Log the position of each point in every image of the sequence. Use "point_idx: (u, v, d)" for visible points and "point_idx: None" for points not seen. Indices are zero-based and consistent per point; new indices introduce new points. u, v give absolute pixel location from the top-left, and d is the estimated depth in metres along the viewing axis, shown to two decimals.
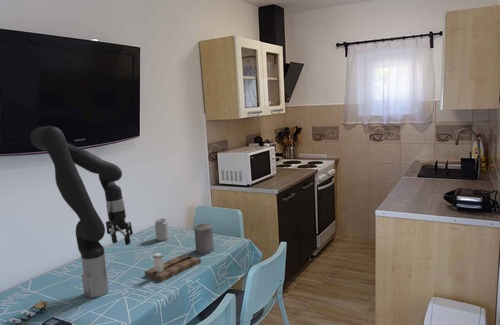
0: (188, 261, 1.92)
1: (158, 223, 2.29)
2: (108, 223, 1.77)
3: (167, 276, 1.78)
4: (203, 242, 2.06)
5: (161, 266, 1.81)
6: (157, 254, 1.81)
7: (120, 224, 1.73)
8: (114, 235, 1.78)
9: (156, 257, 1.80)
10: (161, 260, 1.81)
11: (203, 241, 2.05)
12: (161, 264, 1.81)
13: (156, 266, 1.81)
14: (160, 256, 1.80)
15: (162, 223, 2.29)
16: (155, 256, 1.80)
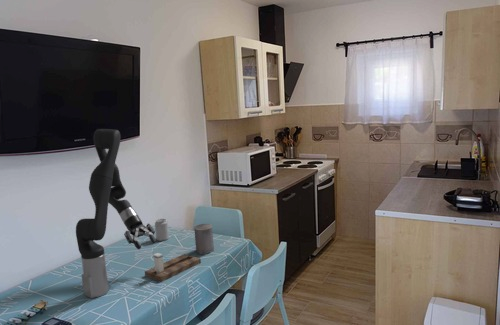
0: (188, 261, 1.92)
1: (158, 223, 2.29)
2: (128, 232, 1.84)
3: (167, 276, 1.78)
4: (203, 242, 2.06)
5: (161, 266, 1.81)
6: (157, 254, 1.81)
7: (143, 226, 1.90)
8: None
9: (156, 257, 1.80)
10: (161, 260, 1.81)
11: (203, 241, 2.05)
12: (161, 264, 1.81)
13: (156, 266, 1.81)
14: (160, 256, 1.80)
15: (162, 223, 2.29)
16: (155, 256, 1.80)
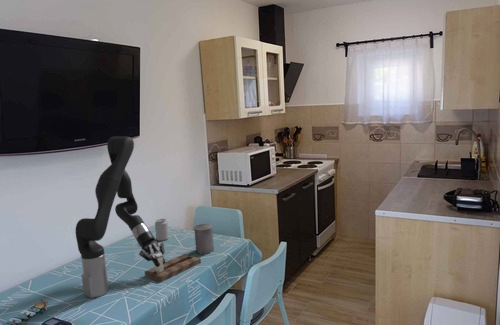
0: (188, 261, 1.92)
1: (158, 223, 2.29)
2: (143, 251, 1.79)
3: (167, 276, 1.78)
4: (203, 242, 2.06)
5: (161, 266, 1.81)
6: (157, 254, 1.81)
7: (156, 244, 1.85)
8: None
9: (156, 257, 1.80)
10: (161, 260, 1.81)
11: (203, 241, 2.05)
12: (161, 264, 1.81)
13: (156, 266, 1.81)
14: (160, 256, 1.80)
15: (162, 223, 2.29)
16: (155, 256, 1.80)
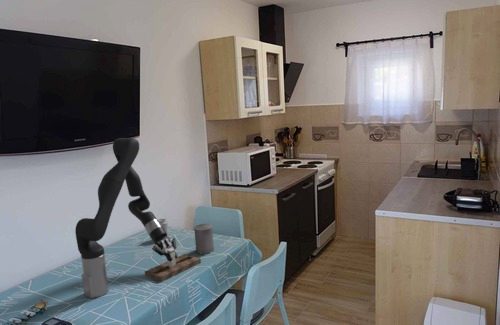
0: (188, 261, 1.92)
1: None
2: (156, 246, 1.85)
3: (167, 276, 1.78)
4: (203, 242, 2.06)
5: (173, 261, 1.86)
6: (169, 249, 1.87)
7: (168, 239, 1.91)
8: None
9: (168, 252, 1.85)
10: (173, 255, 1.86)
11: (203, 241, 2.05)
12: (173, 259, 1.86)
13: (168, 261, 1.87)
14: (172, 251, 1.86)
15: (162, 223, 2.29)
16: None
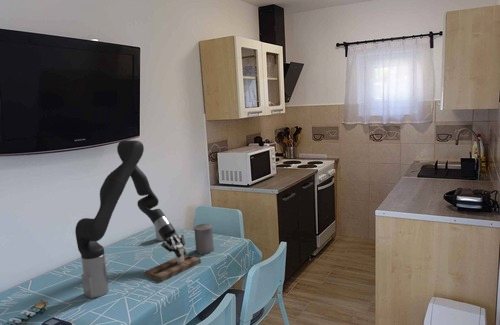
0: (188, 261, 1.92)
1: None
2: None
3: (167, 276, 1.78)
4: (203, 242, 2.06)
5: (182, 257, 1.91)
6: (178, 245, 1.91)
7: (177, 236, 1.95)
8: None
9: (177, 248, 1.90)
10: (182, 251, 1.91)
11: (203, 241, 2.05)
12: (182, 255, 1.91)
13: (177, 257, 1.91)
14: (181, 247, 1.90)
15: None
16: (176, 247, 1.90)
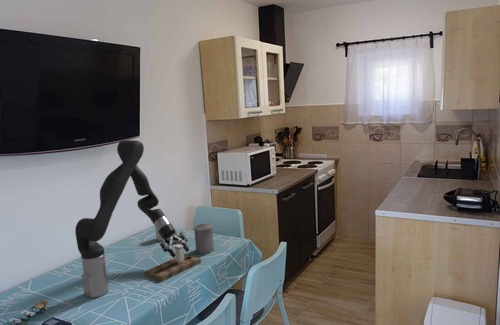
0: (188, 261, 1.92)
1: None
2: (163, 240, 1.89)
3: (167, 276, 1.78)
4: (203, 242, 2.06)
5: (182, 257, 1.91)
6: (178, 245, 1.91)
7: (176, 235, 1.95)
8: None
9: (177, 248, 1.90)
10: (182, 251, 1.91)
11: (203, 241, 2.05)
12: (182, 255, 1.91)
13: (177, 257, 1.91)
14: (181, 247, 1.90)
15: None
16: (176, 247, 1.90)
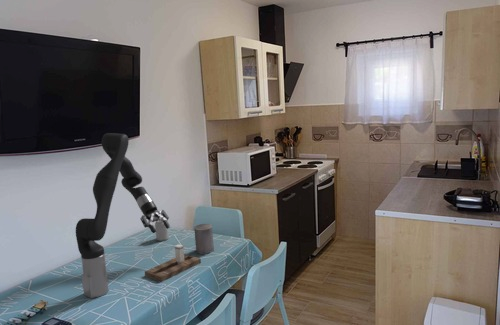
0: (188, 261, 1.92)
1: (158, 223, 2.29)
2: None
3: (167, 276, 1.78)
4: (203, 242, 2.06)
5: (182, 257, 1.91)
6: (178, 245, 1.91)
7: (157, 212, 2.02)
8: None
9: (177, 248, 1.90)
10: (182, 251, 1.91)
11: (203, 241, 2.05)
12: (182, 255, 1.91)
13: (177, 257, 1.91)
14: (181, 247, 1.90)
15: (162, 223, 2.29)
16: (176, 247, 1.90)
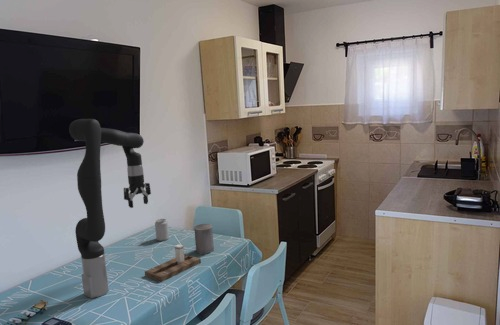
0: (188, 261, 1.92)
1: (158, 223, 2.29)
2: None
3: (167, 276, 1.78)
4: (203, 242, 2.06)
5: (182, 257, 1.91)
6: (178, 245, 1.91)
7: (142, 186, 1.95)
8: None
9: (177, 248, 1.90)
10: (182, 251, 1.91)
11: (203, 241, 2.05)
12: (182, 255, 1.91)
13: (177, 257, 1.91)
14: (181, 247, 1.90)
15: (162, 223, 2.29)
16: (176, 247, 1.90)
